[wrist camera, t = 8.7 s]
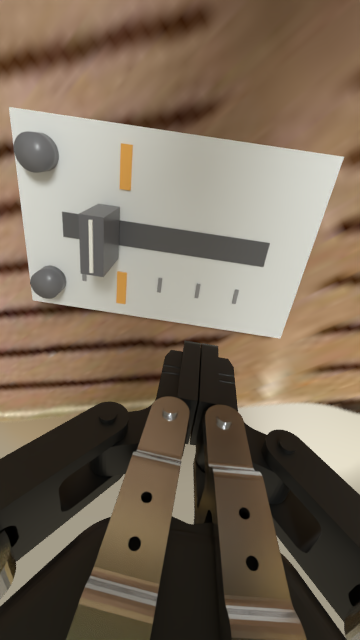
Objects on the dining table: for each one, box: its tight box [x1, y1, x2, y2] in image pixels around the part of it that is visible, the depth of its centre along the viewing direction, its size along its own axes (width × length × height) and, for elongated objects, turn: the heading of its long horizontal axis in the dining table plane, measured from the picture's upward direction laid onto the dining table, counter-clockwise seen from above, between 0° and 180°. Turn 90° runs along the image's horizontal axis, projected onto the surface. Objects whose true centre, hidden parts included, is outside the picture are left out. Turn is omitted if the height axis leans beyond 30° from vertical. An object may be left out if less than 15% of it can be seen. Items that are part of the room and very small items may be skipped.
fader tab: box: [78, 204, 120, 277], centre depth 27 cm, size 5×2×5 cm, turn 173°
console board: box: [9, 107, 344, 338], centre depth 30 cm, size 18×28×4 cm, turn 83°
